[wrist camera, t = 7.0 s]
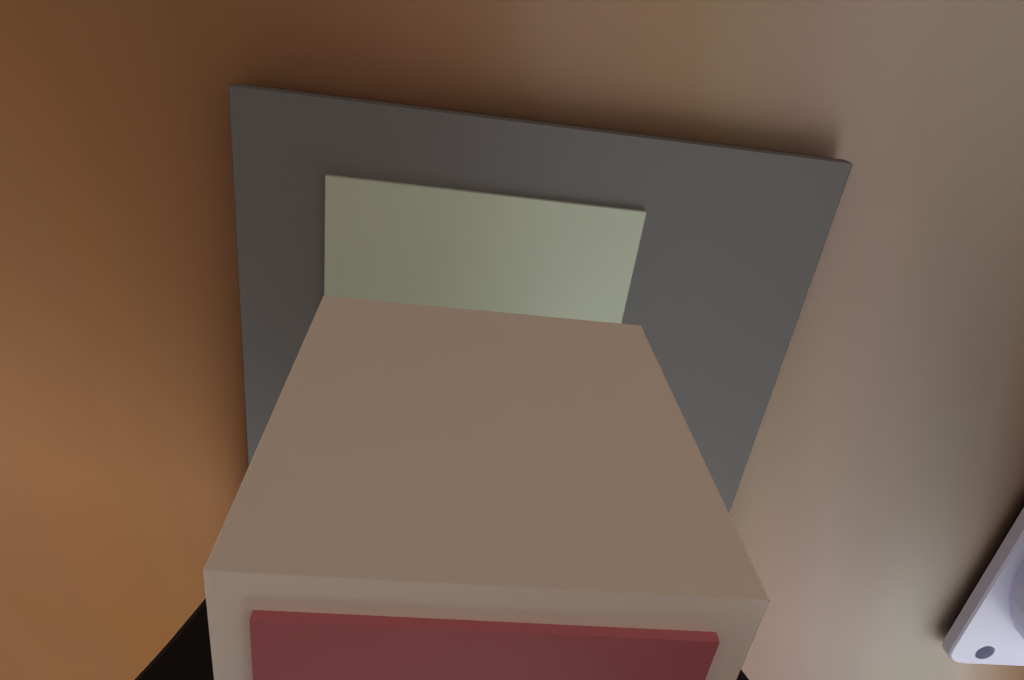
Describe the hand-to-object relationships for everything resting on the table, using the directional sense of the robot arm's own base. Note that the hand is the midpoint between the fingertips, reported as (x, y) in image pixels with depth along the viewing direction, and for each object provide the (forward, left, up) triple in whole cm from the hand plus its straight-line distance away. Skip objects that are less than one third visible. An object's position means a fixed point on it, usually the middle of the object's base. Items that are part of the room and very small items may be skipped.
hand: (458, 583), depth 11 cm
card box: (0, 0, -1) cm, 1 cm away
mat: (-1, +3, -5) cm, 6 cm away
